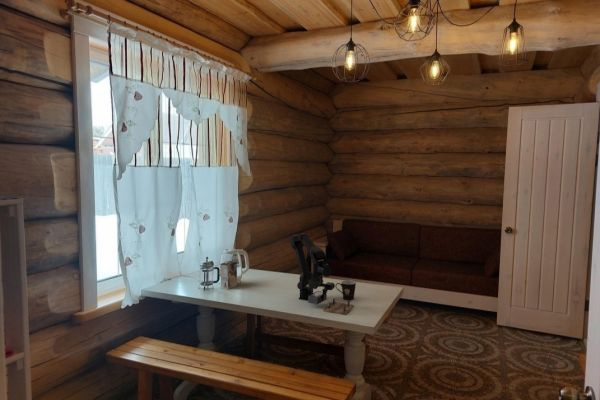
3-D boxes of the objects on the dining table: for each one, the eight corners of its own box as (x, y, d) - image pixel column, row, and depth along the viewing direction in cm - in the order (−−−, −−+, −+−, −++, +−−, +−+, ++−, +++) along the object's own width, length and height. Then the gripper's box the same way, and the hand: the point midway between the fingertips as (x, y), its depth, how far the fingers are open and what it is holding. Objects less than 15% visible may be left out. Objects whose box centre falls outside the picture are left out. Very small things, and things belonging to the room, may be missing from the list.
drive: (308, 302, 228) (308, 295, 228) (317, 297, 237) (317, 290, 236) (317, 304, 225) (317, 297, 225) (326, 299, 233) (326, 292, 233)
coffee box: (230, 284, 270) (229, 260, 269) (237, 285, 267) (237, 261, 265) (220, 287, 262) (220, 263, 261) (228, 289, 259) (227, 264, 257)
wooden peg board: (323, 311, 222) (323, 304, 222) (332, 303, 235) (332, 296, 234) (346, 315, 217) (346, 308, 216) (354, 306, 229) (354, 299, 229)
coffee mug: (358, 298, 243) (358, 282, 242) (349, 302, 237) (349, 285, 236) (343, 293, 251) (343, 278, 250) (334, 297, 245) (334, 281, 244)
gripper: (296, 274, 226) (296, 301, 227) (328, 278, 218) (327, 306, 219) (304, 269, 236) (304, 295, 237) (335, 272, 228) (334, 299, 230)
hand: (317, 299), depth 231 cm, fingers closed on drive, 6 cm apart
